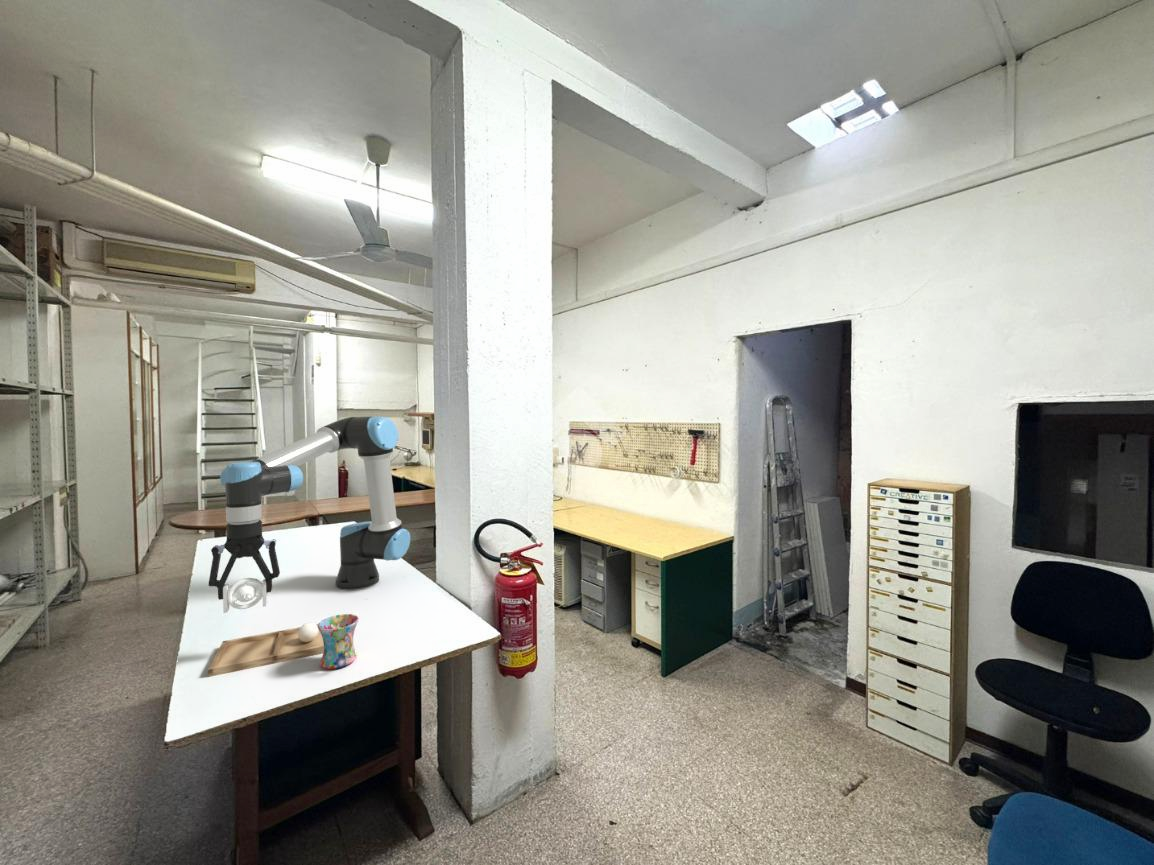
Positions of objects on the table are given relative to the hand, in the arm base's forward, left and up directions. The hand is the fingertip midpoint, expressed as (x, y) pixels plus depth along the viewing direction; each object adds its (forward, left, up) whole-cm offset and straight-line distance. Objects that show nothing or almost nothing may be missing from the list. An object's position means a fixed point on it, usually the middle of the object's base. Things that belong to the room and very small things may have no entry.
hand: (246, 607), depth 119 cm
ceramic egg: (-14, 0, -12) cm, 19 cm away
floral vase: (-22, +16, -13) cm, 30 cm away
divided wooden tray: (-7, 0, -13) cm, 15 cm away
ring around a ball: (0, +1, 0) cm, 1 cm away
